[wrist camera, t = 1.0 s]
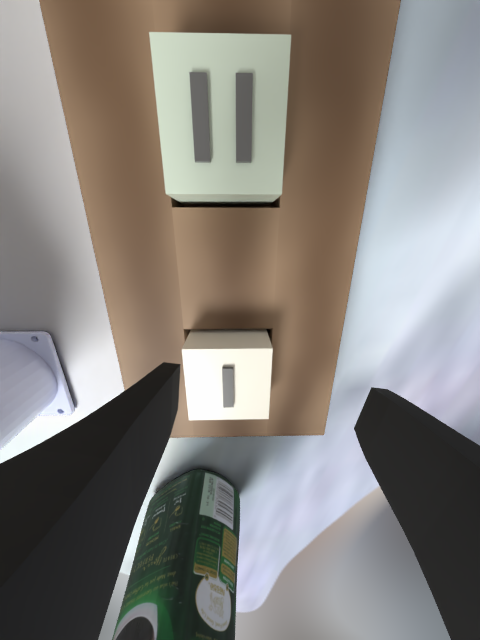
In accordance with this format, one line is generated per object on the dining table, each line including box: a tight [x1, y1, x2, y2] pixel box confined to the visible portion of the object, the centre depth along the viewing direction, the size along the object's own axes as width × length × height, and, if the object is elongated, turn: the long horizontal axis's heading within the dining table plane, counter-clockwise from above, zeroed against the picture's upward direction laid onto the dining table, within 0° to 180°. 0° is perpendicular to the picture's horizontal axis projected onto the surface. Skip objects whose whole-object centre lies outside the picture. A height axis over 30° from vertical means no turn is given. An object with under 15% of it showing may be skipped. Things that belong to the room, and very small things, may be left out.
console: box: [39, 0, 401, 438], centre depth 14 cm, size 14×24×4 cm, turn 0°
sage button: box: [149, 32, 291, 204], centre depth 10 cm, size 5×5×4 cm
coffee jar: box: [112, 469, 240, 640], centre depth 16 cm, size 10×8×19 cm
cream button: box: [182, 329, 273, 420], centre depth 14 cm, size 5×5×4 cm
